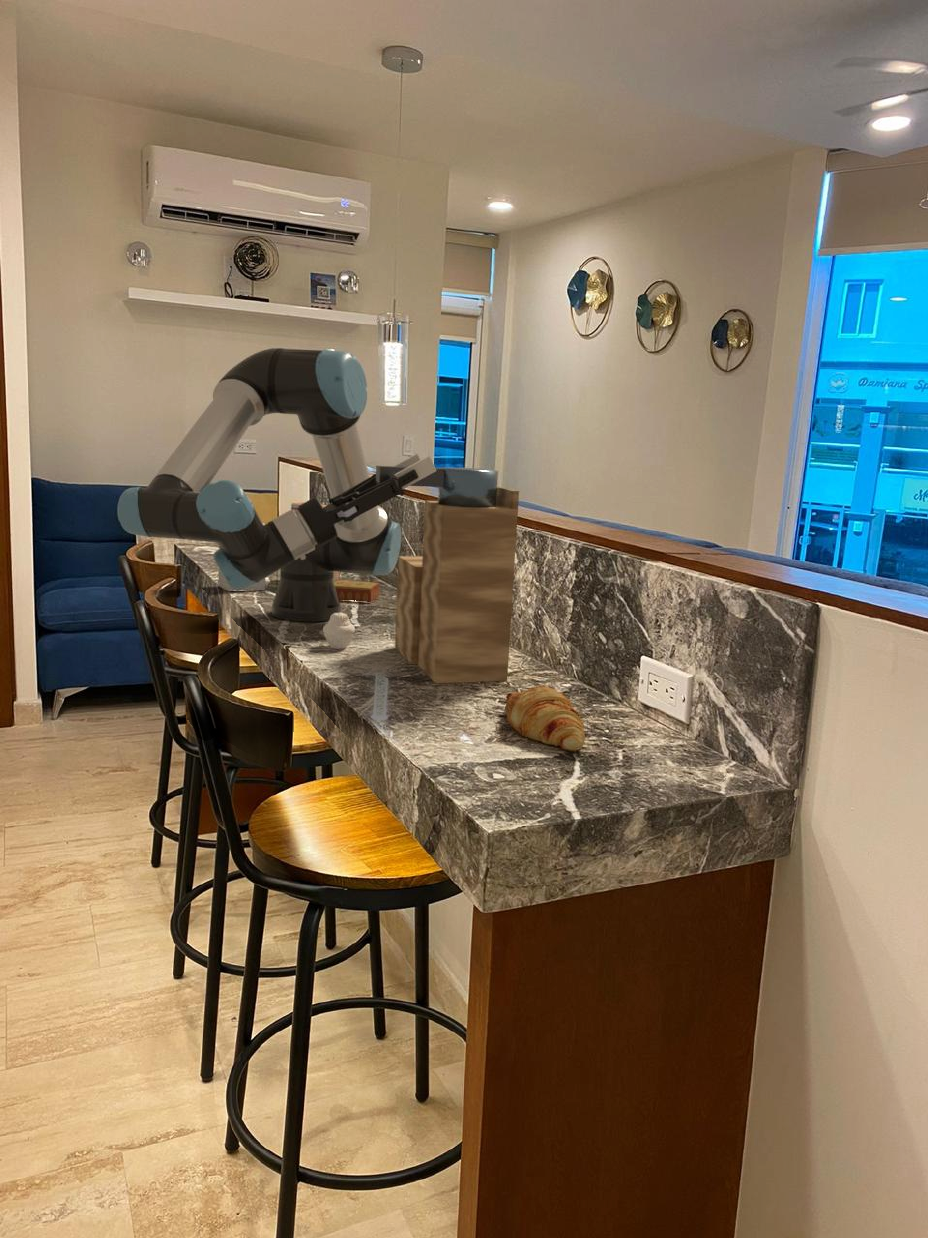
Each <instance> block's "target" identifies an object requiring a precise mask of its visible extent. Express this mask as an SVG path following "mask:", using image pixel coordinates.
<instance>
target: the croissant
mask: <svg viewBox="0 0 928 1238" xmlns="http://www.w3.org/2000/svg"><path fill="white" fill-rule="evenodd" d="M505 699H506V700H505V701H506V703H505V706H504V707H505V708H504V709H505V714H506V719H507V722H508V724H509V725H510V726H511V727H512V728H513V729H514V730H515V731H517V732H518V733H519V734H520V735H522V736H523V737H525V738H527V737H528V738H527V739H531V740H534V741H537V742H541V743H542V744H544V745H545V744H546V745H550V746H554V747H558V746H559V747H560V748H561V749H563V750H564V751H565V750H566V751H570V752H572V751H578V750H581V749H582V748H583V747H584V744H585V741H586V736H585V726H584V722H583V720H582V718H581V715H580V713H579V712H578V711H577V710H576V709H575V708H574V707H573V705H572V703H571V701H570V699H569V697H568V696H566V695H565V694H563V693H561V692H559V691H558V690H556V689H554V688H551V687H549V686H546V685H539V686H535V687H531V688H530V689H526V690H524V691H516V692H509V693H507V694H506V696H505Z"/></svg>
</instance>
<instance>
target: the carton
mask: <svg viewBox="0 0 928 1238" xmlns="http://www.w3.org/2000/svg"><path fill="white" fill-rule="evenodd" d="M334 585H335V589H336V592H337V595H338V599H339V600H354V601H355V600H356V601H367V602H371V601H373V600H374V599H375V598H377V597H378V596H379V597H380V583H379V582H374V581H371V582H370V581H355V580H343V579H342V580H341V579H340V580H334Z"/></svg>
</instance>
